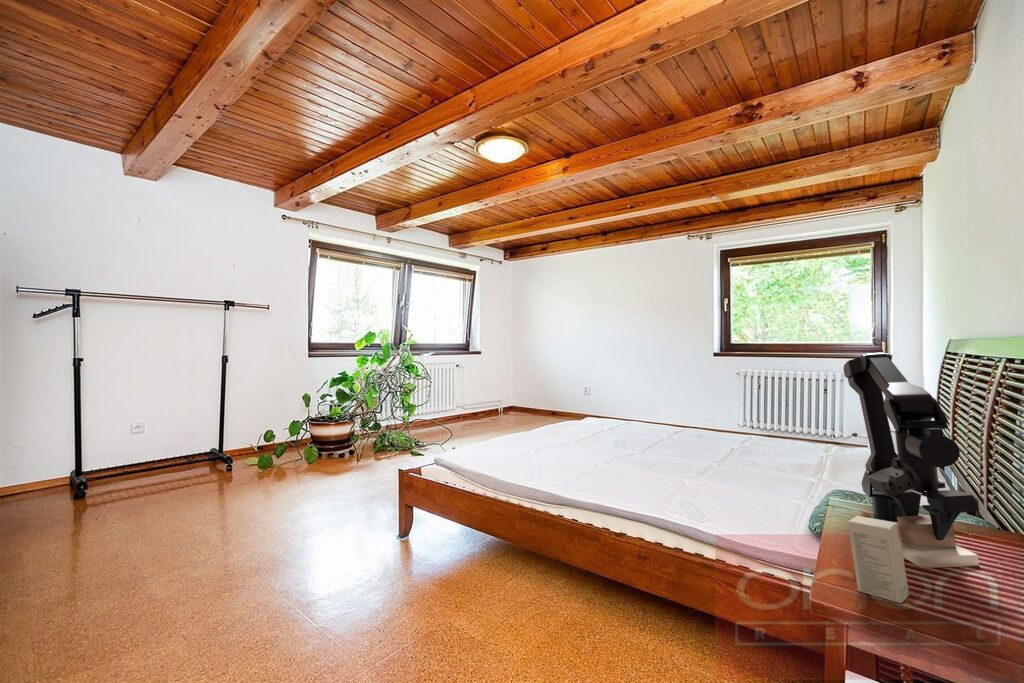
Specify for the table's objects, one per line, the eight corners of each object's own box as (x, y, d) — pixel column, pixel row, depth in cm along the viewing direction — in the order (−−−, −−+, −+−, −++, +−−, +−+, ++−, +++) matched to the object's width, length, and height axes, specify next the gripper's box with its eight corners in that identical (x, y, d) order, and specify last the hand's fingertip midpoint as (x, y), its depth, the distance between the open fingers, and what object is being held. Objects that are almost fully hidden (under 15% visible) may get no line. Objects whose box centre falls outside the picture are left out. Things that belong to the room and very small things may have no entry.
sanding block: (899, 541, 92) (897, 516, 92) (936, 539, 92) (933, 514, 92) (918, 550, 88) (915, 524, 88) (956, 549, 87) (953, 522, 87)
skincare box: (909, 595, 76) (901, 522, 77) (901, 605, 74) (892, 529, 74) (864, 582, 82) (856, 513, 82) (854, 590, 79) (847, 520, 80)
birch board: (883, 546, 95) (881, 536, 95) (933, 543, 94) (931, 534, 94) (922, 568, 85) (921, 557, 85) (979, 565, 84) (977, 554, 84)
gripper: (843, 448, 100) (851, 519, 100) (911, 468, 82) (921, 555, 81) (896, 445, 99) (904, 516, 99) (976, 464, 81) (987, 552, 80)
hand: (925, 533), depth 90 cm, fingers open, 6 cm apart
